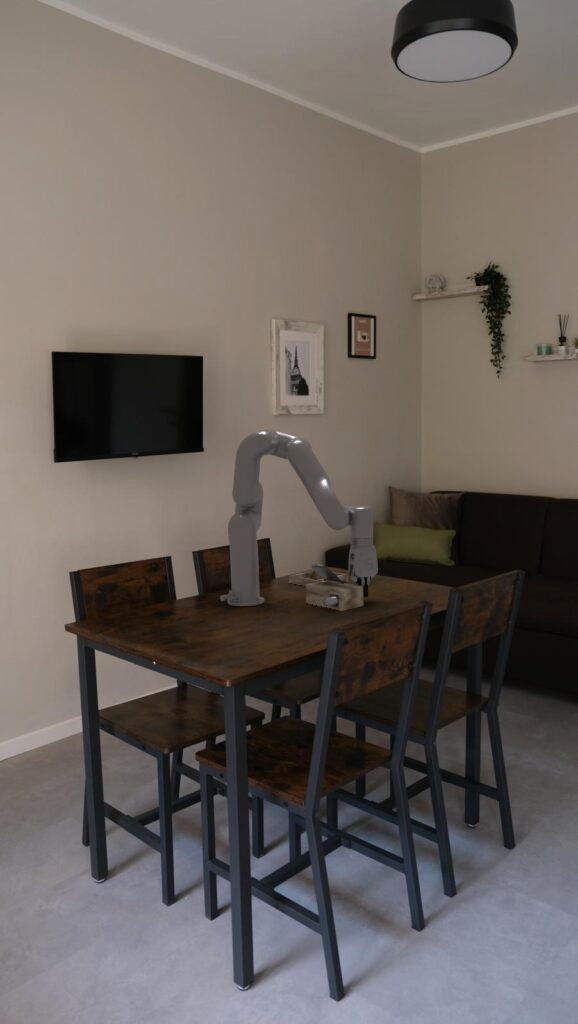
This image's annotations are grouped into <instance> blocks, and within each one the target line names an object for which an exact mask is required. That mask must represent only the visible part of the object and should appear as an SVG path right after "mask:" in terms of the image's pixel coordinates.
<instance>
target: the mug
mask: <svg viewBox="0 0 578 1024" xmlns="http://www.w3.org/2000/svg"><path fill="white" fill-rule="evenodd" d="M314 565H318V566H324V565H323V564H320V563H315V564H314ZM309 572H310V575H309V577H310V579H314V580H319V579H324V578H323V577H322V576H321V575H320V574H319V573H318V572H317V571H316V570H315V569H314V568H312V567H311V568H310V571H309Z"/></svg>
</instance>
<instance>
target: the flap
mask: <svg viewBox="0 0 578 1024" xmlns="http://www.w3.org/2000/svg"><path fill="white" fill-rule="evenodd" d="M312 568H314V569H315V570H316V571H317V572H318V573H319V574H320V575H321V576H322V577H323V578H324V579H326V580H327V581H333V582H338V583H341V581H342V580H340V579H339V578H338V577H337V576H336V575H335V574H334V573H333V572H334V571H333V570H331V569H330V568H329V567H328V566H324V565H323V566H318V565H315V564H312V565H311V569H312Z"/></svg>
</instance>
